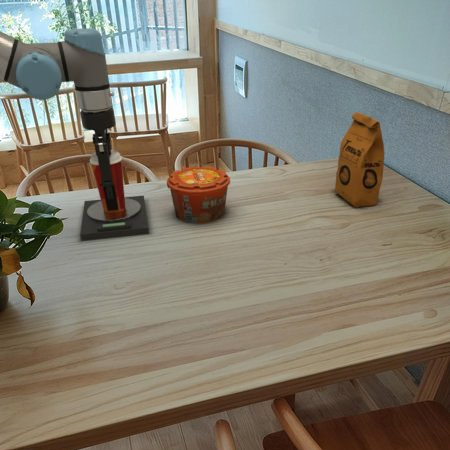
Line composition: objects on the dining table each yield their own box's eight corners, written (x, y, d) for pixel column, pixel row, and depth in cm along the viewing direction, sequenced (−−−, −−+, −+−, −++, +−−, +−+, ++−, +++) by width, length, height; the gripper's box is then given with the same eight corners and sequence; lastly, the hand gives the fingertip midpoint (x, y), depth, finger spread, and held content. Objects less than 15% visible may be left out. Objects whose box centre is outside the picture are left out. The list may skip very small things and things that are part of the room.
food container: (241, 219, 116) (241, 179, 110) (185, 234, 110) (182, 193, 103) (212, 198, 127) (211, 161, 121) (160, 210, 121) (156, 172, 115)
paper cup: (118, 199, 120) (109, 147, 111) (135, 208, 115) (127, 153, 107) (93, 208, 115) (81, 154, 107) (109, 217, 111) (99, 161, 103)
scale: (82, 244, 107) (79, 231, 105) (86, 209, 123) (83, 197, 121) (149, 236, 109) (147, 224, 107) (144, 203, 125) (143, 192, 123)
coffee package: (349, 210, 119) (362, 124, 106) (329, 192, 129) (339, 112, 116) (383, 206, 121) (400, 121, 108) (361, 189, 131) (374, 109, 118)
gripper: (113, 119, 93) (129, 218, 107) (113, 97, 110) (127, 186, 123) (76, 121, 92) (96, 222, 106) (81, 99, 109) (99, 189, 122)
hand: (113, 202), depth 114 cm, fingers open, 8 cm apart
